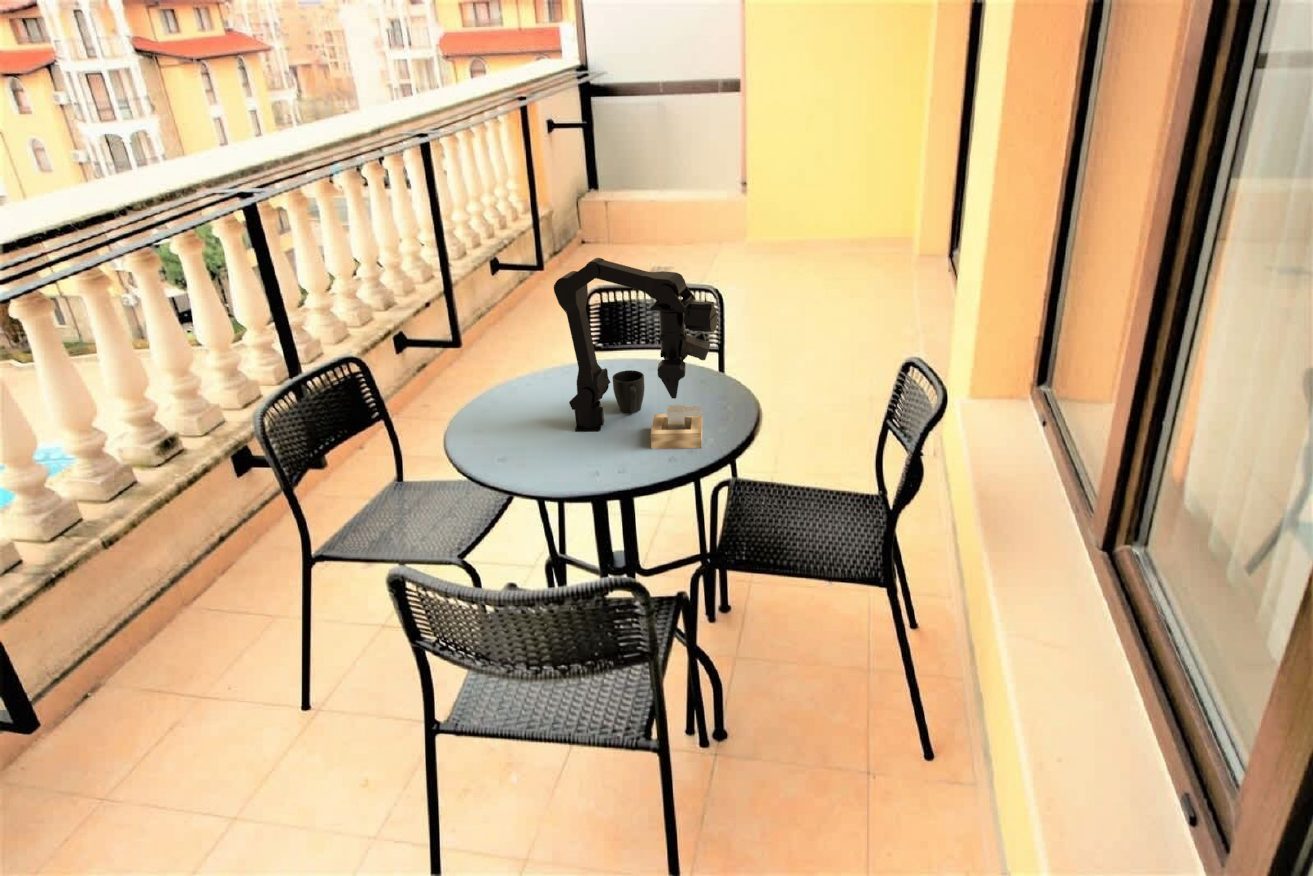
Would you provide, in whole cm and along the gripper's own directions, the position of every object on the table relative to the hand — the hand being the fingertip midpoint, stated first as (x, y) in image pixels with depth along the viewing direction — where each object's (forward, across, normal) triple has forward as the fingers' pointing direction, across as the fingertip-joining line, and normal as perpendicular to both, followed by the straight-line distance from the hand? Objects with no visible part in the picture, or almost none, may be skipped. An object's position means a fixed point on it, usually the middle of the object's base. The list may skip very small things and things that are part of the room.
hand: (675, 390), depth 201 cm
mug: (+13, +15, +13) cm, 23 cm away
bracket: (+12, -1, -2) cm, 13 cm away
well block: (+12, -1, 0) cm, 12 cm away
